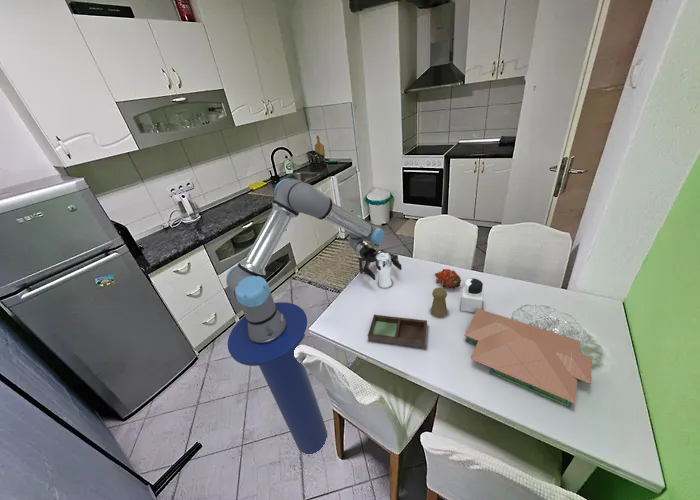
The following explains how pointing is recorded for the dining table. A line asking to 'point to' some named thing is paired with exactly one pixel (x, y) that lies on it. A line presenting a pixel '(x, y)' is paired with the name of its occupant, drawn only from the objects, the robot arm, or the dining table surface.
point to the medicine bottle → (472, 295)
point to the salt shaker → (439, 302)
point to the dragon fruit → (448, 278)
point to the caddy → (398, 331)
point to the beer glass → (384, 269)
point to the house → (529, 354)
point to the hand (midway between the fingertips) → (387, 272)
